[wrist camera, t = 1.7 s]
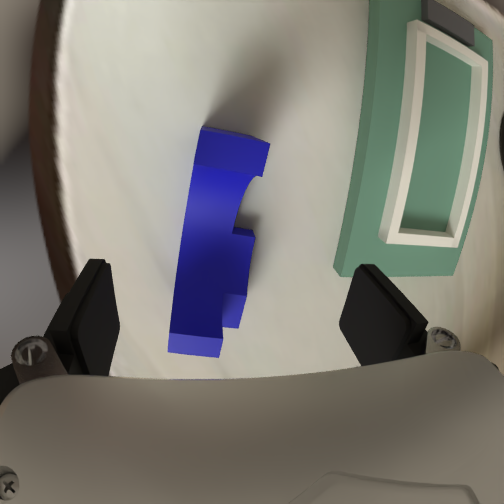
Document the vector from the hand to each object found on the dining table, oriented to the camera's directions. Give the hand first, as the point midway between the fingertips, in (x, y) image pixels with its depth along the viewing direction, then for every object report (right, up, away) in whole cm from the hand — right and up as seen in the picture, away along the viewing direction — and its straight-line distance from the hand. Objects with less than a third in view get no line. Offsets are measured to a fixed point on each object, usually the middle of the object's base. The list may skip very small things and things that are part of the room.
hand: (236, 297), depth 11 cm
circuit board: (+14, +10, +8) cm, 19 cm away
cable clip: (-2, +4, +9) cm, 10 cm away
